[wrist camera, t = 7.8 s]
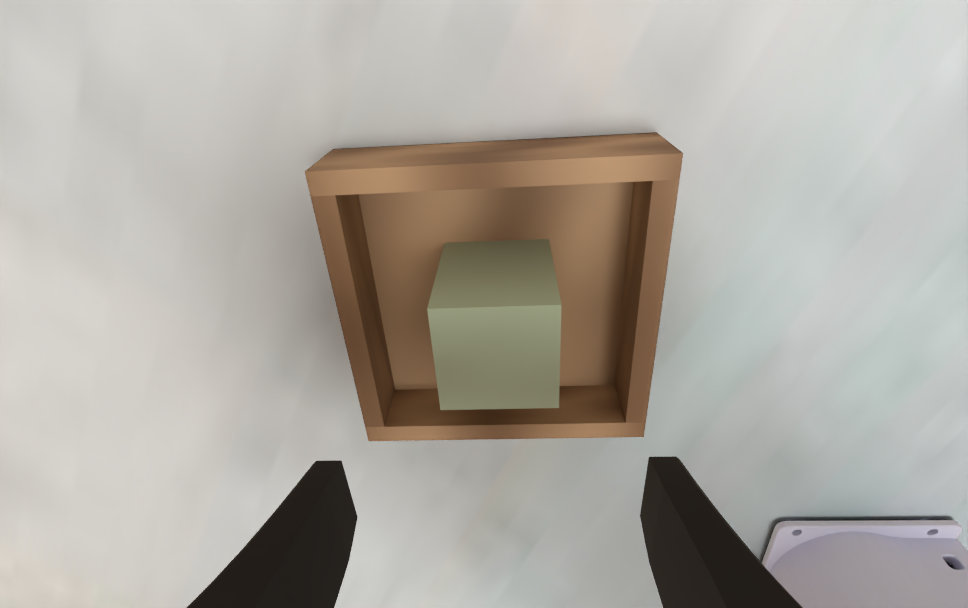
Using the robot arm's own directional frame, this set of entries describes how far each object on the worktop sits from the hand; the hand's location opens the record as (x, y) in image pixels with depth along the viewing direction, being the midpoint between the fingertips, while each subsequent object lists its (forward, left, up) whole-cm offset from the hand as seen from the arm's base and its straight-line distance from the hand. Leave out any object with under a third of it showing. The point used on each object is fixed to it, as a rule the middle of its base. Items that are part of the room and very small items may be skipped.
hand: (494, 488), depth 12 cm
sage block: (0, 0, -10) cm, 10 cm away
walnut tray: (0, 0, -10) cm, 10 cm away
